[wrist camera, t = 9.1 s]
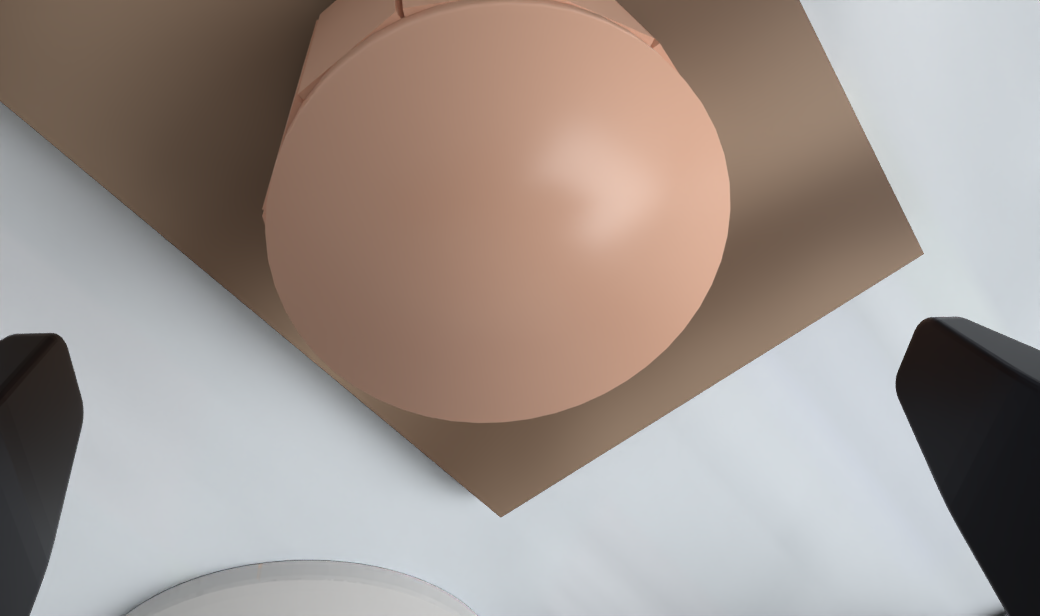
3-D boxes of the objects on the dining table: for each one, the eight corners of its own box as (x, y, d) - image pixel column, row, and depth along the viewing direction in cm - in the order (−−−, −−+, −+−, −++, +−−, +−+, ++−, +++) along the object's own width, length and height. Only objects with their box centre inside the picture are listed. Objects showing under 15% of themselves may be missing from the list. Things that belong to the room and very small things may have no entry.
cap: (702, 148, 15) (803, 265, 12) (450, 327, 17) (468, 483, 13) (508, -150, 12) (563, -119, 9) (218, 102, 14) (156, 223, 10)
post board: (900, 233, 19) (1063, 377, 14) (496, 489, 22) (526, 677, 17) (393, -773, 10) (402, -1250, 5) (-200, -108, 13) (-530, -40, 8)
